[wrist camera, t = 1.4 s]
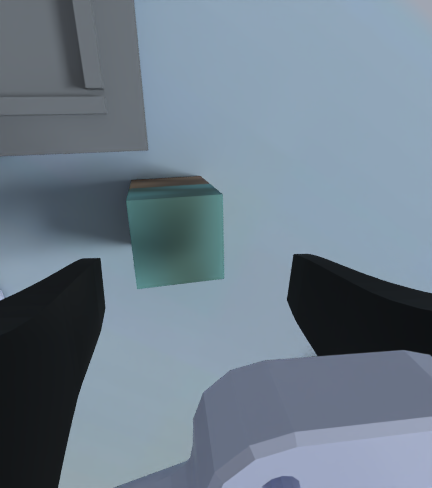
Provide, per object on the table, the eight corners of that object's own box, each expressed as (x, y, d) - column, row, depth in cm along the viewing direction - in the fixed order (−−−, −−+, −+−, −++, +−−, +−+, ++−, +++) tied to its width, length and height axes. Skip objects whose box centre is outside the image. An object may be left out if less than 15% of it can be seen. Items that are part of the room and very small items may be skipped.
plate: (-77, 158, 17) (-104, 161, 15) (-179, -144, 13) (-234, -190, 11) (148, 149, 19) (148, 151, 17) (123, -110, 15) (120, -143, 13)
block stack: (139, 245, 21) (137, 289, 15) (131, 179, 20) (126, 200, 14) (202, 239, 22) (224, 278, 16) (200, 176, 21) (222, 194, 15)
